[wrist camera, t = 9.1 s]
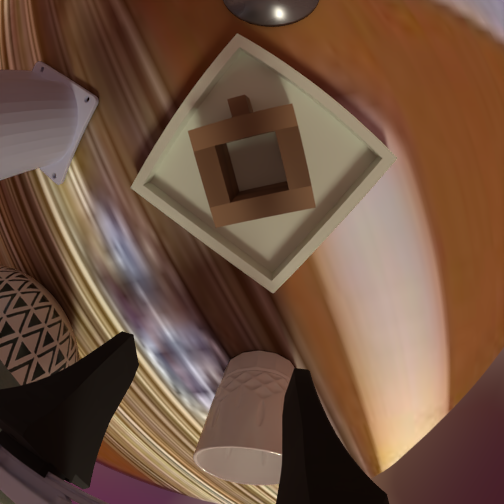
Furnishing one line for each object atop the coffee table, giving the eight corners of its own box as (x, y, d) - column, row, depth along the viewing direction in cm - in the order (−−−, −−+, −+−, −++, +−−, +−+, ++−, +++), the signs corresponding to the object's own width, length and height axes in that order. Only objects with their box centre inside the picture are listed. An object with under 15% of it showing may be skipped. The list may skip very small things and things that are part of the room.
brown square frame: (226, 212, 19) (215, 227, 16) (198, 113, 16) (182, 110, 14) (311, 195, 18) (315, 207, 15) (286, 90, 15) (286, 81, 12)
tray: (140, 183, 19) (130, 187, 18) (241, 40, 14) (237, 33, 13) (274, 282, 21) (273, 293, 20) (389, 155, 16) (397, 158, 15)
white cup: (314, 352, 23) (318, 455, 14) (292, 404, 26) (287, 489, 17) (223, 336, 24) (192, 435, 15) (216, 391, 27) (193, 474, 18)
